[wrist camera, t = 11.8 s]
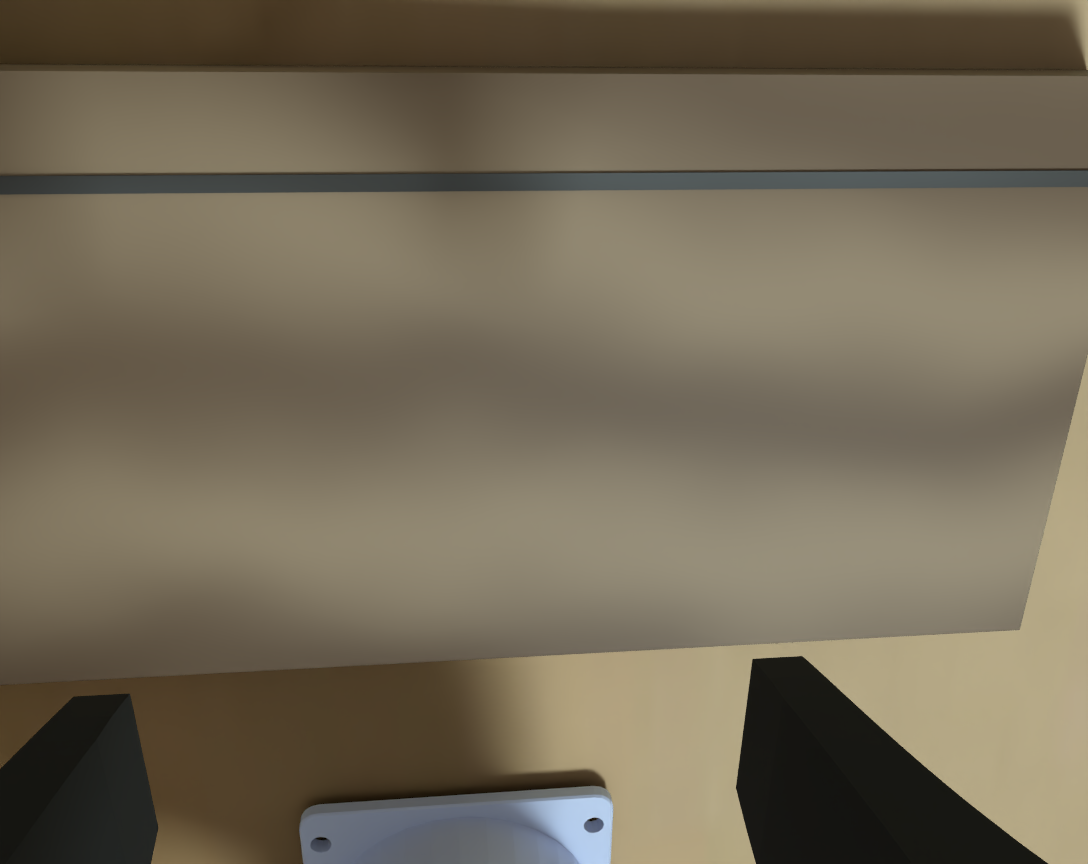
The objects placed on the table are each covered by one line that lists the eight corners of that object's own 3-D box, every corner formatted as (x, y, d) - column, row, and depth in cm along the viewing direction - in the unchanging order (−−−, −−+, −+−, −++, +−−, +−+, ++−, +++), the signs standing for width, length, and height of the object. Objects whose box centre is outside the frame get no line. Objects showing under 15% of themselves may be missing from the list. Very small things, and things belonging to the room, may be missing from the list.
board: (975, 582, 24) (1020, 631, 22) (-327, 646, 21) (-401, 708, 19) (1088, 69, 19) (1159, 76, 18) (-574, 61, 16) (-704, 67, 15)
